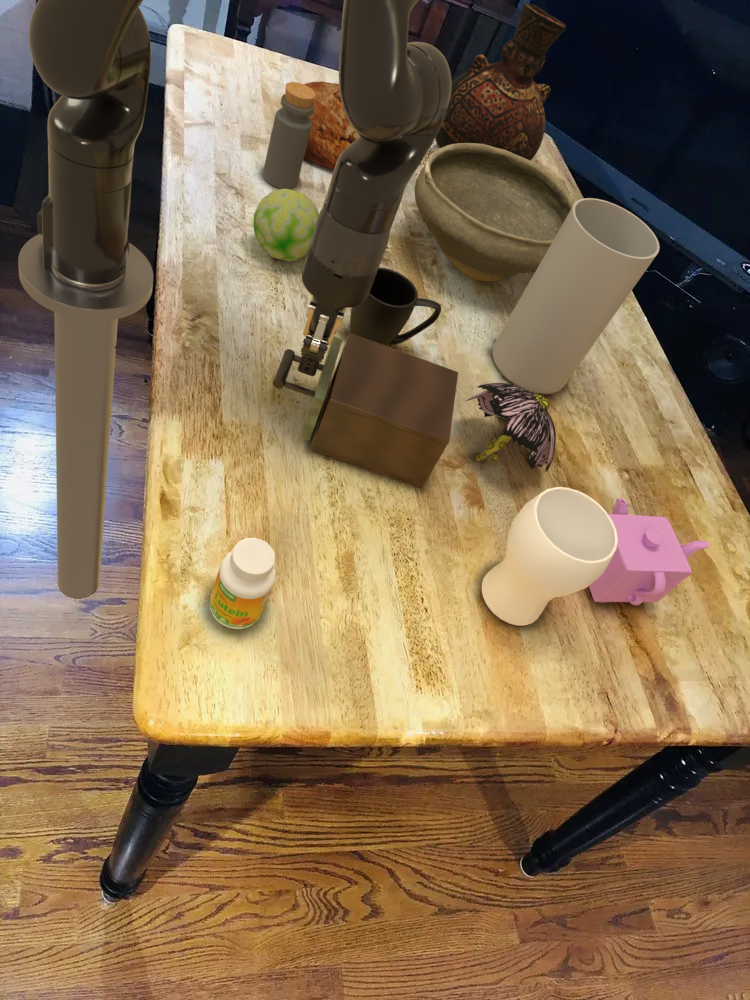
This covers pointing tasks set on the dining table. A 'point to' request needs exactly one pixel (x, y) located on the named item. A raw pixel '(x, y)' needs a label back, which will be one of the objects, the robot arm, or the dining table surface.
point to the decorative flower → (519, 422)
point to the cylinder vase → (573, 294)
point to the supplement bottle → (243, 584)
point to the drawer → (317, 394)
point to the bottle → (289, 136)
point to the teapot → (643, 559)
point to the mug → (389, 309)
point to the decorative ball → (285, 224)
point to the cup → (549, 554)
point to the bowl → (490, 209)
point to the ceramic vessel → (505, 92)
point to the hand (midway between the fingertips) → (307, 370)
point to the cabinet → (387, 411)
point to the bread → (328, 126)
